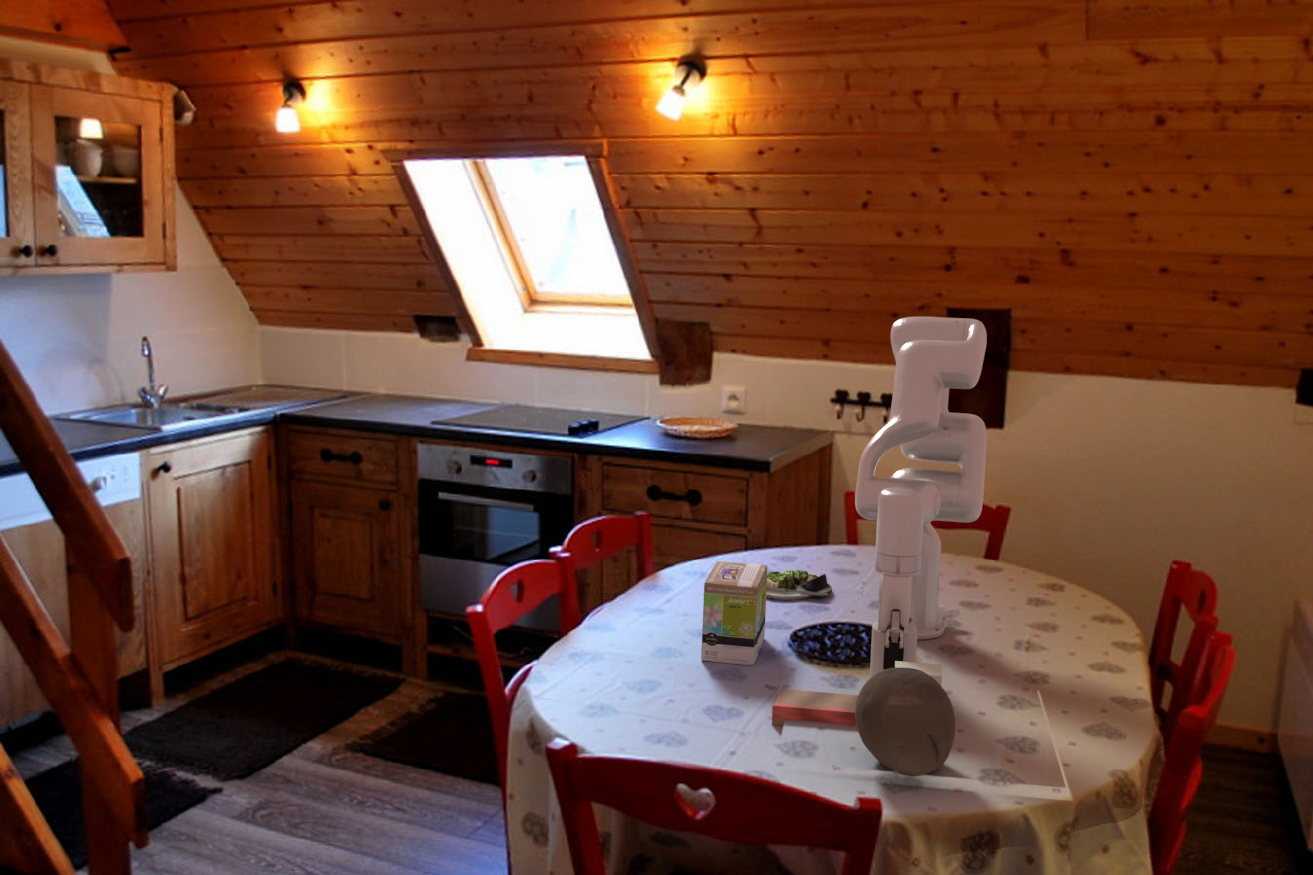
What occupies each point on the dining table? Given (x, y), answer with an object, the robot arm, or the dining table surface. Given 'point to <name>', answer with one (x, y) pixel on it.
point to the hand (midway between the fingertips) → (892, 660)
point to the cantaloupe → (906, 720)
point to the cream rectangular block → (923, 668)
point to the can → (880, 642)
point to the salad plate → (797, 585)
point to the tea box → (734, 613)
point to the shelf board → (814, 707)
